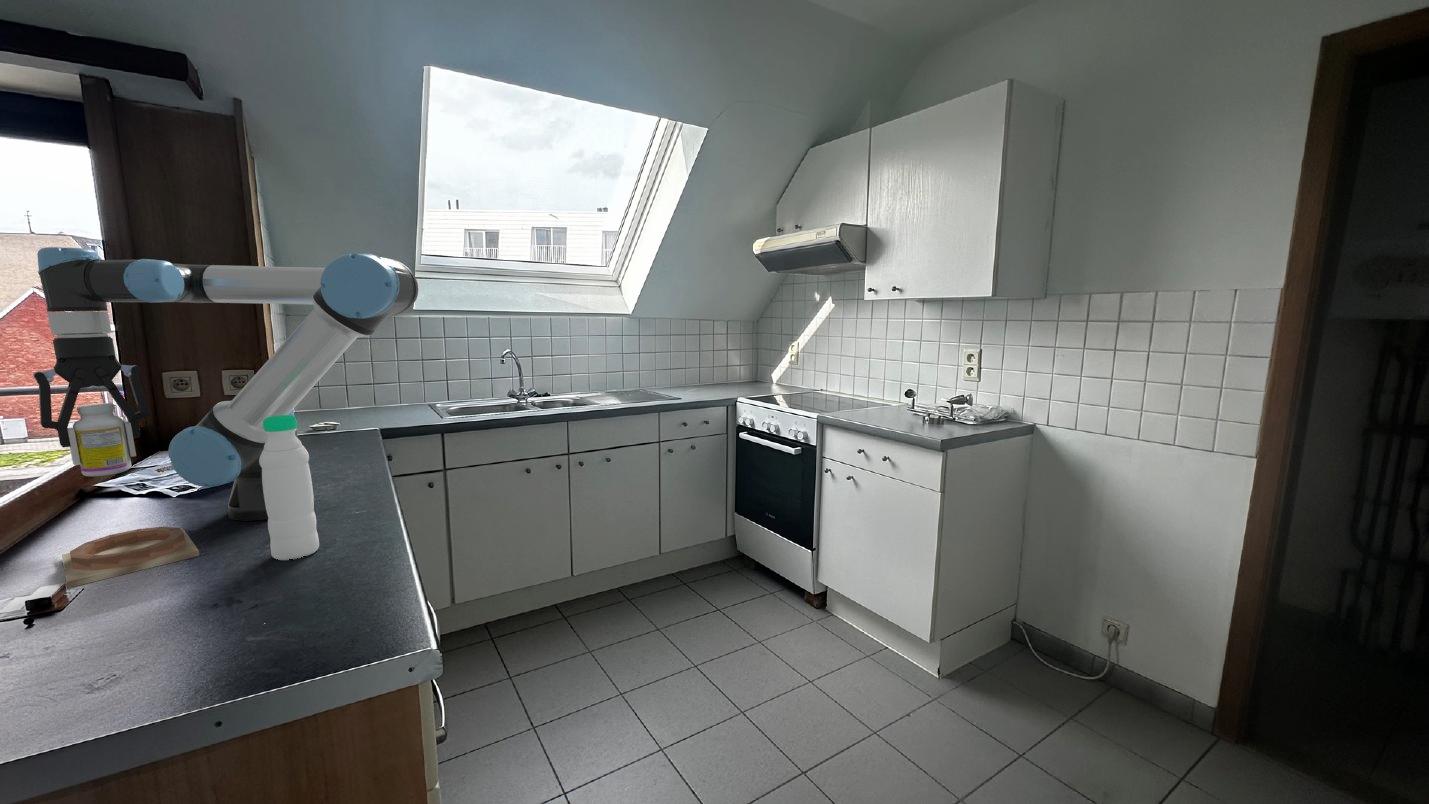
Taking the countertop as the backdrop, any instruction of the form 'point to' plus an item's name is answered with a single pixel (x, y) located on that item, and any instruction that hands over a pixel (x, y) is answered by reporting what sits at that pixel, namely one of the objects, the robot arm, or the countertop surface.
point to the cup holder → (126, 554)
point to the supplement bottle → (101, 440)
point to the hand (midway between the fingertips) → (105, 459)
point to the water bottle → (287, 490)
